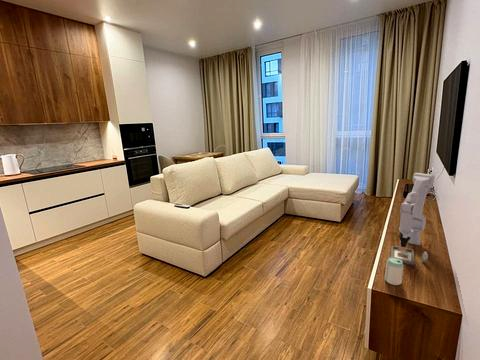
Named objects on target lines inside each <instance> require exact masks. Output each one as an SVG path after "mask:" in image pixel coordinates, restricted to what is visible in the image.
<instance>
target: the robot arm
mask: <svg viewBox="0 0 480 360" xmlns="http://www.w3.org/2000/svg"><path fill="white" fill-rule="evenodd" d="M412 182H413V187H412V190H411V191H410V192H408V194H407V196H406V197H405V199H404V202H401V204H400V207H399V211H400V220H399V227H398V232H399V234H398V237H399V242H400V241H401V247H406V245H407V243H408V244H412V245H417V246H421V235H422V231H424V230H425V228H426V221H427V218H426V217H425V216H424V215H423V211H424V206H425V202H426V198H427V193H428V191H429V189H433V186H434V182H435V175H434V174H429V173H421V172H415V173H413V176H412ZM407 246H408V245H407Z"/></svg>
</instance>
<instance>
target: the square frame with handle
mask: <svg viewBox="0 0 480 360" xmlns="http://www.w3.org/2000/svg"><path fill="white" fill-rule="evenodd" d="M408 244H409V243H407V245H406V247H401V241H400V240H399V243H398V247H399V250H400V251H395V252H394V257H396V258H399V259H401V260H405V261H410V262H411V254H410V253H405V251H407V249H408ZM398 254H401V255H406V256H408V259H407V258H403V257H398Z"/></svg>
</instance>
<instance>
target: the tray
mask: <svg viewBox="0 0 480 360" xmlns="http://www.w3.org/2000/svg"><path fill="white" fill-rule="evenodd" d="M390 248H391V250H390V252H391V253H390V257H394V252H395V251H400V250H399V246H397V245H391V247H390ZM405 253H410V254H411V262H410V261H405V260H402V263H403V264H405V265H409V266H415V264H416V263H415V262H416V261H415V255H414V253H415V251H414V249H412V248H407V251H405ZM398 257H403V258H407V259H408V256H406V255H401V254H398Z"/></svg>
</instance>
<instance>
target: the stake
mask: <svg viewBox="0 0 480 360" xmlns="http://www.w3.org/2000/svg"><path fill="white" fill-rule="evenodd" d="M421 256H422V257H421V264H427V263H428V259H429V254H428V251H424V252H423V253H422V255H421Z"/></svg>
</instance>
